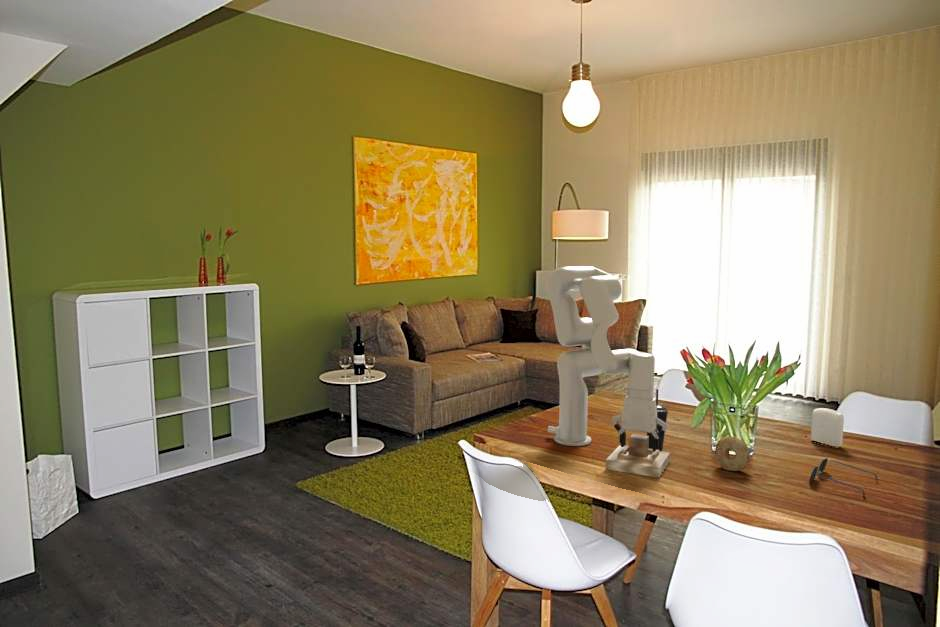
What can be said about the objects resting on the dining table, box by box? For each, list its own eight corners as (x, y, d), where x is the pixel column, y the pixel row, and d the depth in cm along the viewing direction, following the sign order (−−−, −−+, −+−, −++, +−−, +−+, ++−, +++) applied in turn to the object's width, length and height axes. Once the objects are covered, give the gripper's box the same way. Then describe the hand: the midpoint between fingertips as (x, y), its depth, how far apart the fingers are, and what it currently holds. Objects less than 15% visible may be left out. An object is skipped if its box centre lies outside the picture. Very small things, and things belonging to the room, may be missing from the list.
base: (605, 469, 209) (606, 455, 208) (619, 454, 223) (619, 441, 222) (659, 477, 202) (659, 463, 201) (669, 461, 216) (670, 448, 215)
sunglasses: (822, 471, 209) (826, 456, 208) (877, 489, 200) (880, 473, 199) (806, 486, 196) (810, 470, 195) (863, 506, 187) (867, 489, 186)
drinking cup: (667, 452, 225) (670, 392, 223) (643, 451, 227) (645, 391, 224) (666, 445, 233) (668, 387, 230) (642, 444, 234) (644, 386, 232)
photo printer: (808, 441, 239) (810, 406, 237) (816, 439, 241) (818, 405, 239) (836, 449, 230) (838, 413, 228) (844, 447, 232) (846, 411, 231)
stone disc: (711, 467, 211) (713, 435, 210) (716, 464, 214) (718, 433, 212) (746, 475, 204) (747, 442, 203) (750, 472, 207) (752, 440, 206)
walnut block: (628, 457, 211) (628, 438, 210) (632, 452, 215) (632, 433, 215) (644, 459, 209) (645, 440, 208) (648, 454, 213) (648, 436, 212)
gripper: (609, 392, 210) (607, 447, 212) (667, 399, 203) (665, 455, 205) (615, 388, 217) (614, 441, 219) (672, 394, 209) (669, 448, 211)
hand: (638, 448), depth 212 cm, fingers open, 9 cm apart
